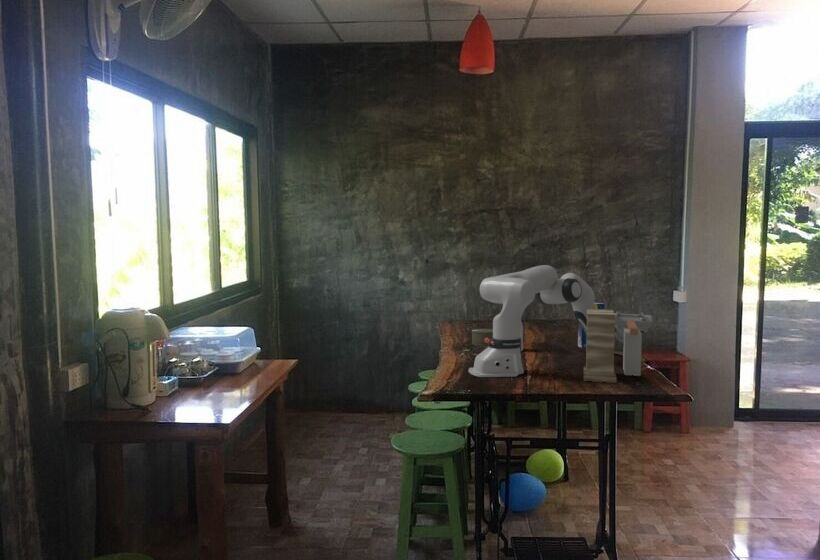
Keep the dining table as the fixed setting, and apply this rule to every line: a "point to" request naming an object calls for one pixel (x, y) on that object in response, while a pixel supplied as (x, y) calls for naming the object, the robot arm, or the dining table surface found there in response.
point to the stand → (600, 346)
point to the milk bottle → (521, 335)
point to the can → (481, 336)
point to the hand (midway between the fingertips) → (629, 313)
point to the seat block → (632, 353)
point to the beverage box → (581, 334)
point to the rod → (632, 327)
